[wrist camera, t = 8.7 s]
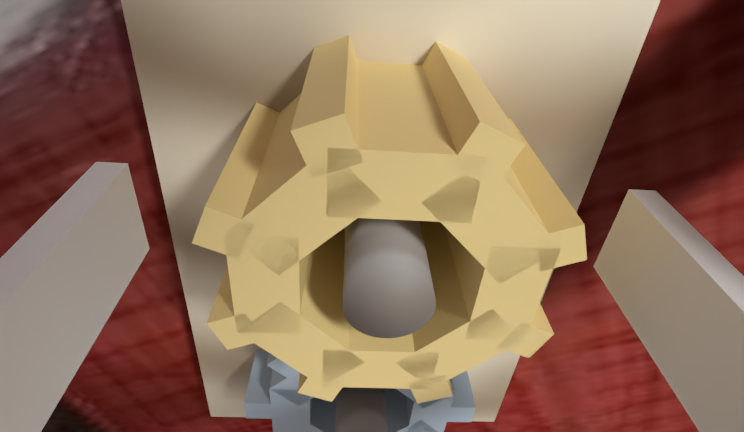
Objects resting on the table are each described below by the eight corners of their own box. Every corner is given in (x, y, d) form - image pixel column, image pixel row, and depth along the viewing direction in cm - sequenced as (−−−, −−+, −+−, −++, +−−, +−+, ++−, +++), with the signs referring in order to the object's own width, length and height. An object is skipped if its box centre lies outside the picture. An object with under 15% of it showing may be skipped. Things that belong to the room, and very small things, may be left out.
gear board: (131, -70, 12) (-102, -39, 6) (638, -28, 13) (891, 38, 7) (218, 389, 23) (168, 564, 17) (487, 395, 24) (531, 563, 18)
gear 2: (248, 280, 17) (234, 332, 15) (483, 289, 18) (499, 339, 16) (263, 417, 22) (253, 469, 20) (445, 420, 23) (453, 472, 21)
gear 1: (236, 26, 12) (165, 102, 8) (541, 48, 13) (644, 131, 8) (257, 265, 17) (220, 399, 12) (479, 274, 17) (522, 405, 13)
